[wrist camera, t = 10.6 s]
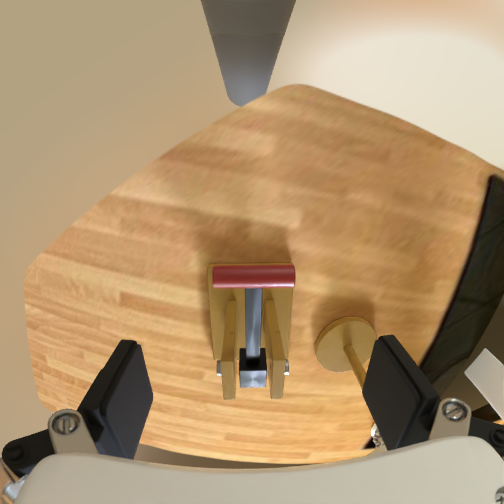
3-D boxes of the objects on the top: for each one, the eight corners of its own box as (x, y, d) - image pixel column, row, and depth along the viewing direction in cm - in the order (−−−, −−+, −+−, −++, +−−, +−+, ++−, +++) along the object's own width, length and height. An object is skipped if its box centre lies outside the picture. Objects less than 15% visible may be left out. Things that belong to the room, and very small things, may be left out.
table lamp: (310, 311, 33) (387, 512, 10) (387, 306, 34) (504, 457, 10) (303, 375, 36) (344, 549, 13) (372, 368, 37) (445, 515, 13)
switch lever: (213, 256, 19) (210, 279, 17) (292, 255, 19) (297, 278, 17) (224, 365, 26) (223, 387, 24) (279, 364, 26) (281, 386, 24)
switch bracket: (208, 263, 31) (189, 318, 20) (292, 262, 32) (316, 316, 20) (214, 354, 35) (204, 425, 24) (287, 353, 35) (301, 423, 24)
